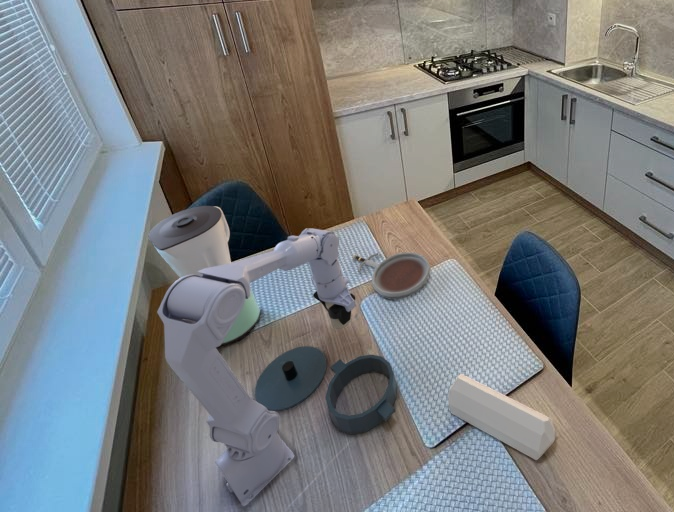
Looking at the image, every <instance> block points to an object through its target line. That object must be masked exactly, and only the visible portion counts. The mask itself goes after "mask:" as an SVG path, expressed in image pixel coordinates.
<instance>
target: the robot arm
mask: <svg viewBox="0 0 674 512" xmlns="http://www.w3.org/2000/svg"><path fill="white" fill-rule="evenodd" d="M339 245H340V236H339V235H338V236H337V235H336V233H335V232H333V231H331V230H325V229H320V228H311V227H310V228H308V227H307V228H305V229H303V230H302V231H301V233H300V234H299V235H289V236H287V239H286V240H283V241H280V242H278V243H277V244H276V245H275V247H274V248H273V250H270V251H268V252H265V253H261V254H258V255H254V256H250V257H247V258H243V259H241V260H237V261H233V262H231V263H229V264H225V265H220V266H215V267H209V268H205V269H202V270H200V271H198V272H197V273H201V274H203V276H201V277H200V276H198V275H186V276H183V277H181V278H178V279H177V280H175V281H174V282H173V283H172V284H171V285H170V286H169V288H168V289H167V290H166V292H165V294H164V296H163V299H161V303H160V305H159V307H158V309H157V311H156V312H157V315H158V316H159V319H160V320H161V322H162V323H163V327H164V328H163V329H164V330H163V331H164V333H163V334H164V358H165V361H166V364H167V365H168V366H169V367H170V368H171V369H172V371H173V372H174V373H175V374H176V376H177V377H178V378H179V379H180V381H182V383H183V384H184V385H185V386H186V388H187V389H188V390H189V391H190V392H191V394H192V395H193V396H194V397H195V399H196V400H197V401H198V402H199V403H200V405H202V407H203V408H204V409H205V410H206V412H207V413H208V414H209V415H208V417H207V419H206V423H207V425H208V426H209V438H210V441H212V442H215V443H221V444H224V446H225V447H226V448H225V451H224V452H222V454H221V455H220V456H219V457H218V458H217V460H216V461H215V465H216V466H217V468H218V469H219V471H220V472H221V474H222V475H223V477H224V479H225V481H226V482H227V483H226V484H225V485H226V488H227V489H228V490H229V492H230V493H234V495H235V496H236V498H237V499H238V501H239V502H240V504H241V506H242V507H245V506H247V505H249V503H251V501H252V500H253V499H254V498H255V497H256V496H257V495H258V494H259V493H260V492H261V491H262V490H263V489H264V488H265V487H266V486H267V485H268V484H269V483H270V482H272V480H273V479H275V477H277V475H278V474H280V473H281V472H282V471H283V470H284V468H286V467H287V466H288V465H289V464H290V462H292V461H293V459H294V458H295V454H294V452H293V451H292V450H291V448H290V447H289V446H288V445H287V444H286V442H285V441H284V440H283V438H282V437H281V436H280V435H279V433H278V430H279V426H280V414H279V412H278V411H269V410H268V409H267V408H266V407H265V406H263V405H261V404H260V403H258V402H257V400H256V399H253V398H251V396H250V394H249V393H248V392H247V390H246V389H245V388H244V386H243V385H242V383H241V382H240V379H238V377H237V376H236V375H235V373H234V372H233V371H232V369H231V367H230V366H229V364H228V363H227V361H226V360H225V359H224V357H223V356H222V355H221V353H220V352H219V349H217V348H219V347H220V346H222V345H221V344H222V342H223V341H224V339H225V337H226V336H227V334H228V332H229V330H230V329H231V327H232V325H233V324H234V322H235V320H236V319H237V317H238V315H239V314H240V312H241V310H242V308H243V306H244V303H245V299H248V298H249V297H250V287H251V283H253V282H255V281H257V280H259V279H262V278H263V277H265V276H267V275H269V274H271V273H273V272H275V271H277V270H281V271H285V272H287V271H291V270H293V269H296V268H298V267H300V266H303V265H305V264H307V263H308V265H309V268H310V271H311V274H312V277H310V281H311V283H312V285H313V286H314V287H315V290H316V291H315V292H314V293H313V295H312V297H313V298H314V299H316V300H317V301H318V302H320V303H321V305H322V306H323V308H324V309H325V310H326V311H327V308H326V304H325V302H329V303H333V304H334V305H332V306H331V307H330V308H329V310H330V311H332V312H333V313H334V314H336V316H337V317H338V319H339V321H340V323H341V324H343V325H344V324H346V323H347V322H348V321H349V320H350V319H351V320H352V311H353V310H354V309H355V308H356V307H357V304H356V296H355V294H353V293H352V292H350V290H349V288H348V286H347V285H348V284H349V283H350V279H349V278H348V277H347V276H343V272H342V269H341V264H340V261H339V254H340V252H339ZM251 496H252V497H251Z"/></svg>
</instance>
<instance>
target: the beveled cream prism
mask: <svg viewBox="0 0 674 512" xmlns="http://www.w3.org/2000/svg"><path fill="white" fill-rule="evenodd" d="M447 397H448V398H447V401H448V403H447V404H448V406H449V411H450V414H452V415H453V416H455V417H456V418H458V419H461V420H462V421H464V422H466V423H468V424H470V425H471V426H473V427H475V428H477V429H479V430H480V431H482V432H484V433H486V434H488V435H490V436H492V437H493V438H495V439H497V440H498V441H501V442H502V443H504V444H505V445H508V446H510V447H511V448H513V449H515V450H517V451H518V452H520V453H522V454H524V455H525V456H528V457H529V458H532V459H533V460H535V461H539V459H540V458H541V457H542V456H543V455H544V454H545V453H546V452H547V451H548V449H549V448H550V447H551V446H552V445H553V443H554V442H555V440H556V429H555V424H554V420H553V419H552V418H551V417H550V416H547V415H546V414H544V413H541V412H540V411H537V410H536V409H533V408H531V407H529V406H528V405H525V404H523V403H521V402H519V401H517V400H515V399H513V398H511V397H510V396H507V395H505V394H504V393H501V392H499V391H498V390H495V389H493V388H491V387H489V386H488V385H486V384H483V383H481V382H479V381H477V380H475V379H473V378H471V377H469V376H467V375H465V374H462V373H460V374H459V375H458V376H456V379H454V381H453V383H452V385H451V386H450V387H449V390H448V395H447Z"/></svg>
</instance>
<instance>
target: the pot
mask: <svg viewBox="0 0 674 512" xmlns="http://www.w3.org/2000/svg"><path fill="white" fill-rule="evenodd" d="M330 370H331V371H332V372H333V373H334V375H333V377H332V379H331V380H330V381H329V383H328V386H327V389H326V393H325V402H326V407H327V411H328V414H329V416H330V418H331V421H332V423H333V425H334V426H335V427H336V428H337V429H338V430H339V431H340V432H343V433H347V434H350V435H356V434H361V433H365V432H368V431H370V430H372V429H374V428H375V427H377V426H378V425H380V424H381V423H382V422H383V421H385V422H388V420H389V419H390V418H391V417H392V416H393V415H394V413H395V412H396V408H395V407H394V404H395V403H396V400H397V394H398V393H397V391H398V386H397V385H398V384H397V380H396V376H395V374H394V370H393V367H392V365H391V362H389V361H388V360H387V359H386V358H384V357H383V356H382V355H376V354H366V355H360V356H357V357H355V358H353V359H351V360H349V361H347V362H344V361H343V360H342V359H341V358H339V359H338V360H337V361H335V363H333V364H332V365H331V366H330ZM368 373H379V374H383V375H384V376H385V377H386V378H388V386H387V388H386V390H385V392H384V394H383V395H382V397H381V398H380V399H379V400H378V401H377V402H376V403H375V404H374V405H373V406H371V407H370V408H368V409H366V410H365V411H363V412H361V413H356V414H350V415H349V414H345V413H341V412H339V411H337V409H336V407H337V406H336V405H337V401H338V398H339V396H340V394H341V393H342V391H343V390H344V388H345V387H346V386H347V385H348V384H349V383H351V381H352V380H353V379H356V378H358V377H359V376H362V375H363V374H368Z"/></svg>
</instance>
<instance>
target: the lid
mask: <svg viewBox="0 0 674 512" xmlns="http://www.w3.org/2000/svg"><path fill="white" fill-rule="evenodd" d="M327 366H328V363H327V359H326V355H325V354H324V352H323V351H322V350H321V349H320V348H317V347H315V346H309V345H308V346H307V345H306V346H304V345H303V346H298V347H295V348H291V349H289V350H287V351H285V352H283V353H281V354H280V355H278V356H277V357H276V358H275V359H273V360H272V361H271V362H270V363H269V364H268V365H267V366H266V367H265V368H264V370H263V371H262V372H261V373H260V375H259V377H258V379H257V382H256V384H255V388H254V398H255V401H256V402H258V403H260V404H261V405H263V406H265V407H266V408H267V409H268V411H275V412H281V411H285V410H289V409H291V408H294V407H295V406H298V405H299V404H301V403H302V402H304V401H305V400H307V399H308V398H309V397H310V396H311V395H312V394H313V393H314V392H315V391H316V390H317V389H318V387H319V386H320V385H321V384H322V382H323V380H324V378H325V376H326V372H327V368H328V367H327Z"/></svg>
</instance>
